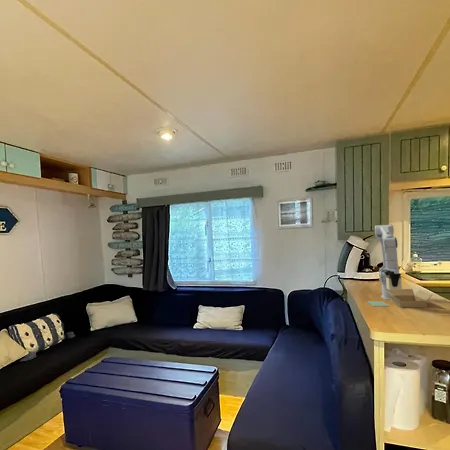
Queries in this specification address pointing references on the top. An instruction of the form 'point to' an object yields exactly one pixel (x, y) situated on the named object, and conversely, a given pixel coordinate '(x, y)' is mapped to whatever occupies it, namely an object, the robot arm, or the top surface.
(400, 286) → the block
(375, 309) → the top surface
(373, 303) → the pad
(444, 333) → the top surface
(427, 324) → the top surface
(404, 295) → the carton
